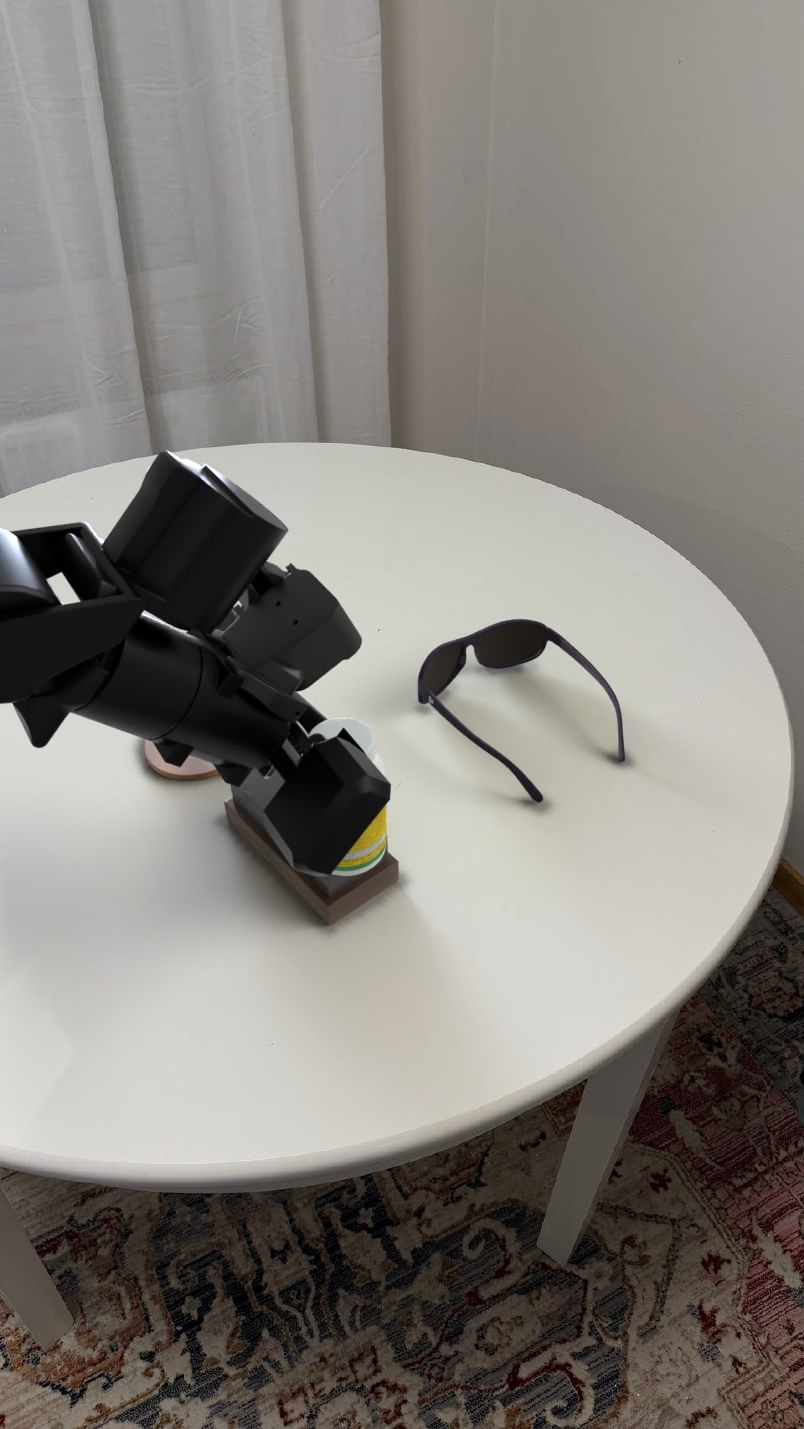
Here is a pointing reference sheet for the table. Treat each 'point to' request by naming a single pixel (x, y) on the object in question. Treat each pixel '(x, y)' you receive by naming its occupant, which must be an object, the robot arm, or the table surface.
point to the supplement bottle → (375, 835)
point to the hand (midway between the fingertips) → (362, 767)
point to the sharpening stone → (321, 893)
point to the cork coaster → (187, 772)
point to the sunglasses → (498, 650)
